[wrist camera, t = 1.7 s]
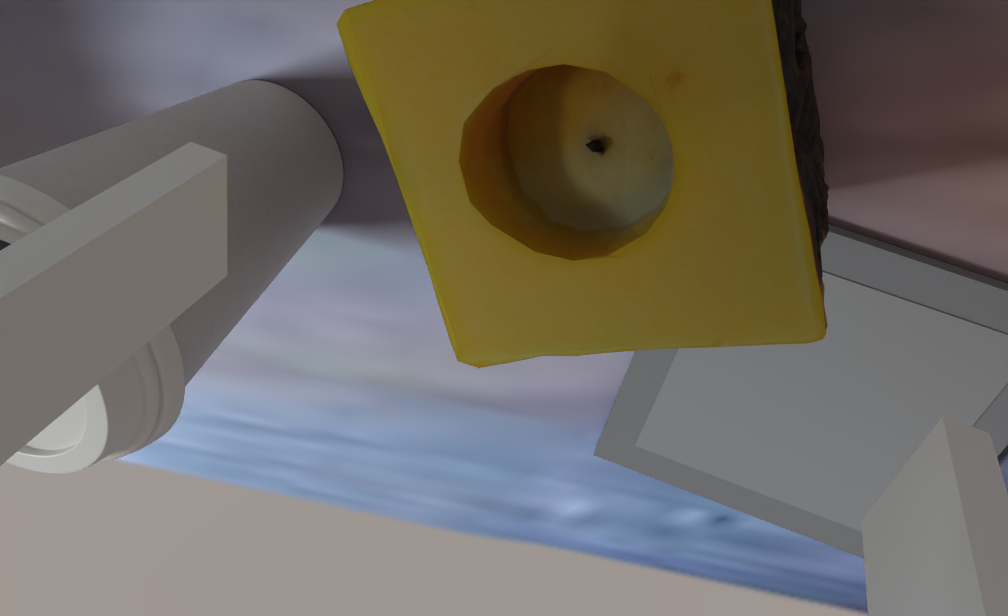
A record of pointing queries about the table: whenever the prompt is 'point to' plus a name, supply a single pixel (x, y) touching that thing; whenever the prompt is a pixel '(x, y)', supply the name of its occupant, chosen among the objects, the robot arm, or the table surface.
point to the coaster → (823, 394)
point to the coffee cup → (250, 245)
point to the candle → (603, 169)
